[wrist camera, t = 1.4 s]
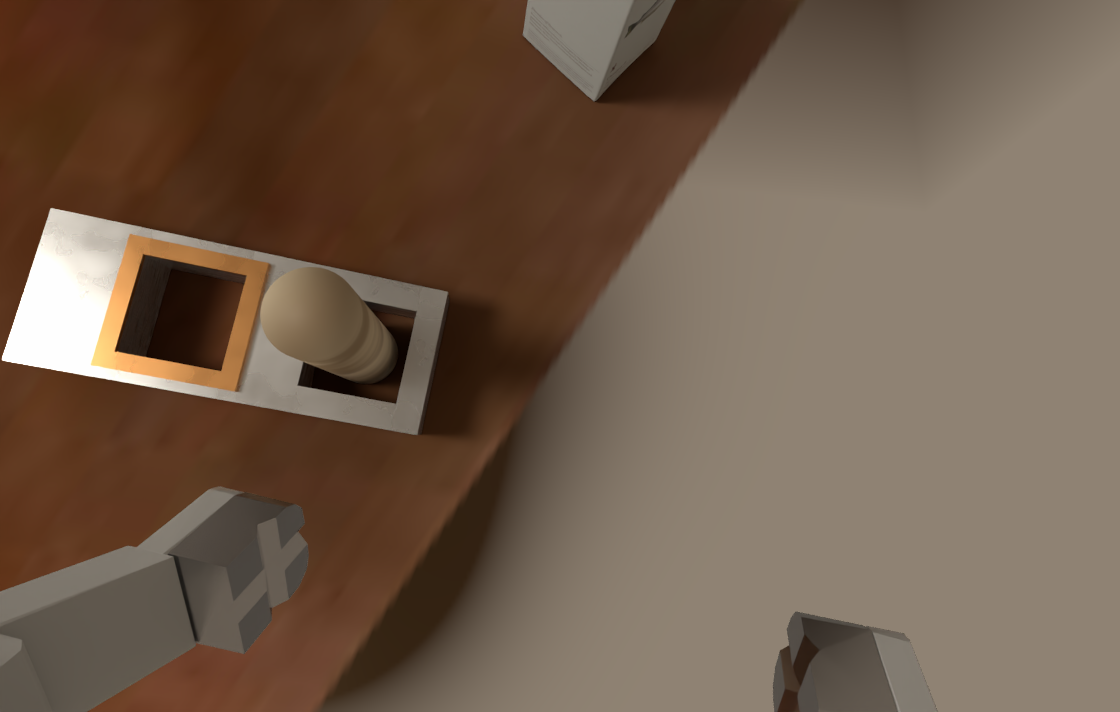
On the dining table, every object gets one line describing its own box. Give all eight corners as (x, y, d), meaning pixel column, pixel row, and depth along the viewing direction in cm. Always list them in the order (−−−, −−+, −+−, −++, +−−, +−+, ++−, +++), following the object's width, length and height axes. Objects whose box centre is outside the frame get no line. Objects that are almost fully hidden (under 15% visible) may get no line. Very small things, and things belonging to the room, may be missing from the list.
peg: (328, 377, 38) (249, 349, 25) (342, 318, 39) (273, 257, 25) (390, 389, 39) (347, 368, 25) (404, 330, 40) (369, 277, 26)
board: (40, 365, 36) (-3, 359, 33) (84, 225, 37) (47, 206, 34) (421, 434, 39) (416, 435, 36) (449, 301, 40) (447, 290, 37)
